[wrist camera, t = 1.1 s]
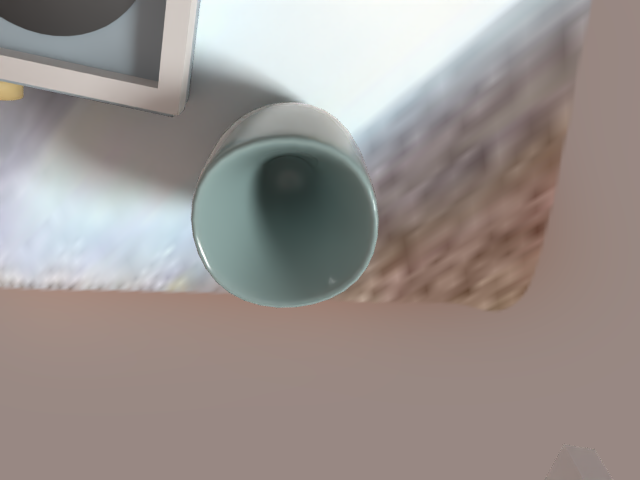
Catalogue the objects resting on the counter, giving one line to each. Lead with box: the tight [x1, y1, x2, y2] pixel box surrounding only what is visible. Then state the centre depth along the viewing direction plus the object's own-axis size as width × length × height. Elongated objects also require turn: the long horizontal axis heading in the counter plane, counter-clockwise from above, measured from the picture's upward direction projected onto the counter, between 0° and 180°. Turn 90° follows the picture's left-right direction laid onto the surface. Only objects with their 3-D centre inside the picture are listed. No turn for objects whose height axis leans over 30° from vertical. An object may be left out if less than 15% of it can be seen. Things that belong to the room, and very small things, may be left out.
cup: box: [191, 102, 379, 307], centre depth 27 cm, size 8×8×10 cm
